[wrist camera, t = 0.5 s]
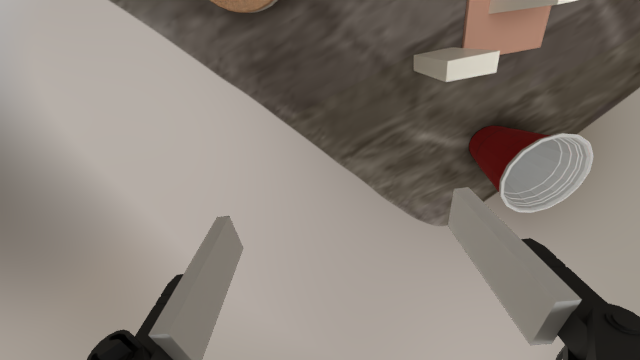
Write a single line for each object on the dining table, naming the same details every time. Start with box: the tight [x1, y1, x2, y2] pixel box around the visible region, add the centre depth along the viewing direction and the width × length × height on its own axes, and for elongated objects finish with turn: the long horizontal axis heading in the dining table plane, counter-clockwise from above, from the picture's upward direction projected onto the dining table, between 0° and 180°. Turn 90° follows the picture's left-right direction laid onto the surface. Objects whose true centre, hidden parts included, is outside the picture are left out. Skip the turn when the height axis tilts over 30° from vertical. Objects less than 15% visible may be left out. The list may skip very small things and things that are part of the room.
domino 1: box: [414, 47, 500, 82], centre depth 28 cm, size 2×5×10 cm, turn 101°
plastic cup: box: [469, 126, 594, 213], centre depth 34 cm, size 11×11×12 cm
